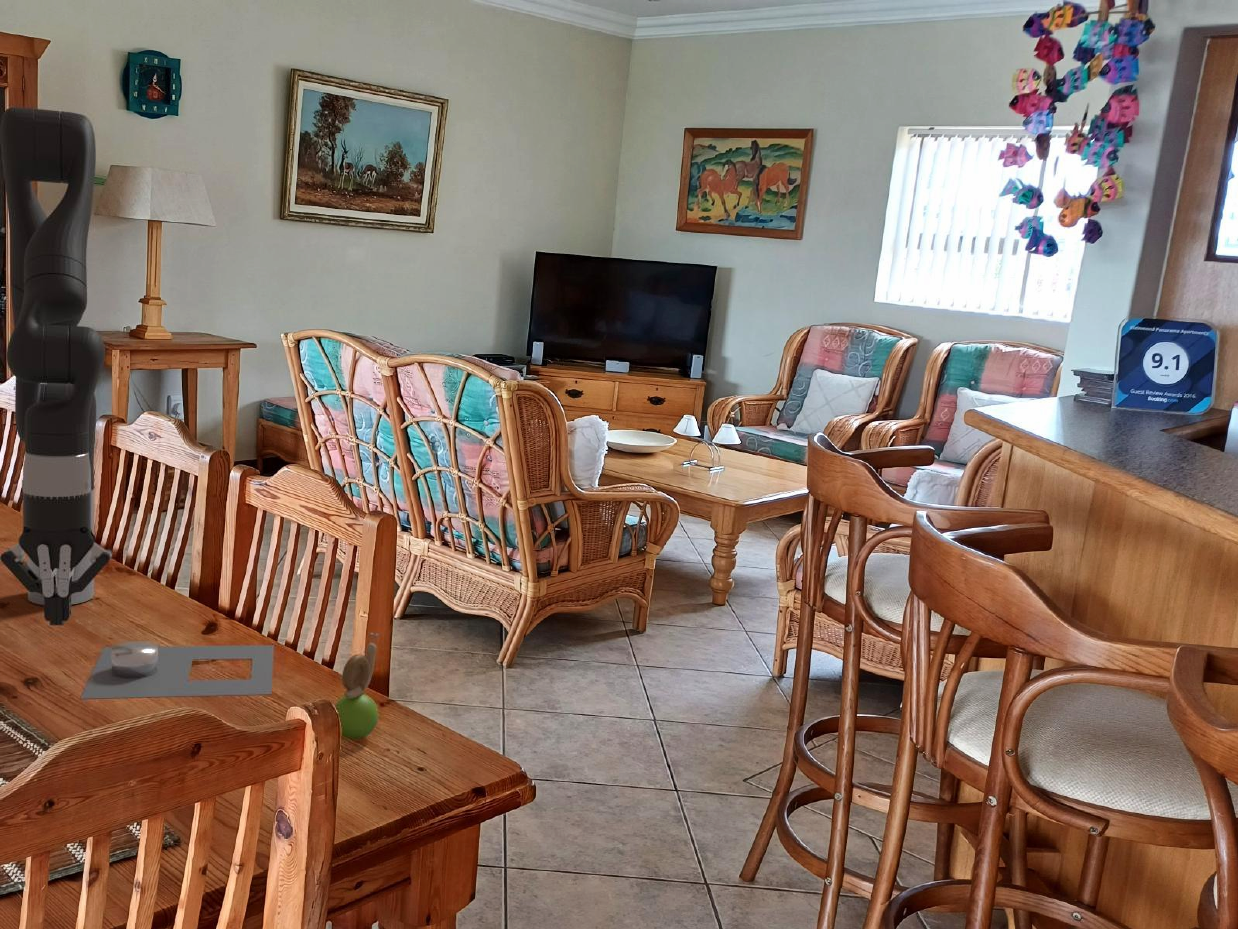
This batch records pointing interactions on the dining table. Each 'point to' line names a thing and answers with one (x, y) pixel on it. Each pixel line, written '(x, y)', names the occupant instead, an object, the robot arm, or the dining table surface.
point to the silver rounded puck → (134, 659)
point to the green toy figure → (358, 695)
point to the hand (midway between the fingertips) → (57, 623)
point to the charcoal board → (183, 674)
